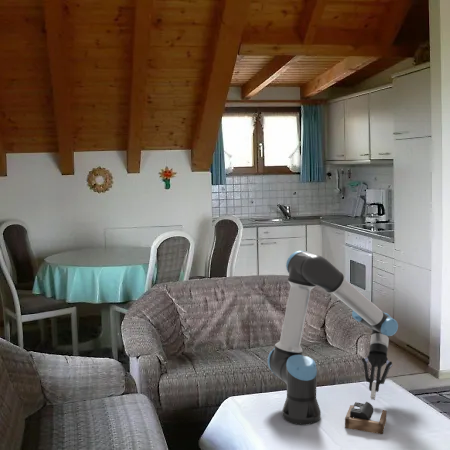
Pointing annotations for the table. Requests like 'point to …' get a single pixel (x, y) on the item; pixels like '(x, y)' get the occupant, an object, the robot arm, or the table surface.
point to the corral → (365, 423)
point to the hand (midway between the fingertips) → (372, 398)
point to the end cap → (362, 411)
